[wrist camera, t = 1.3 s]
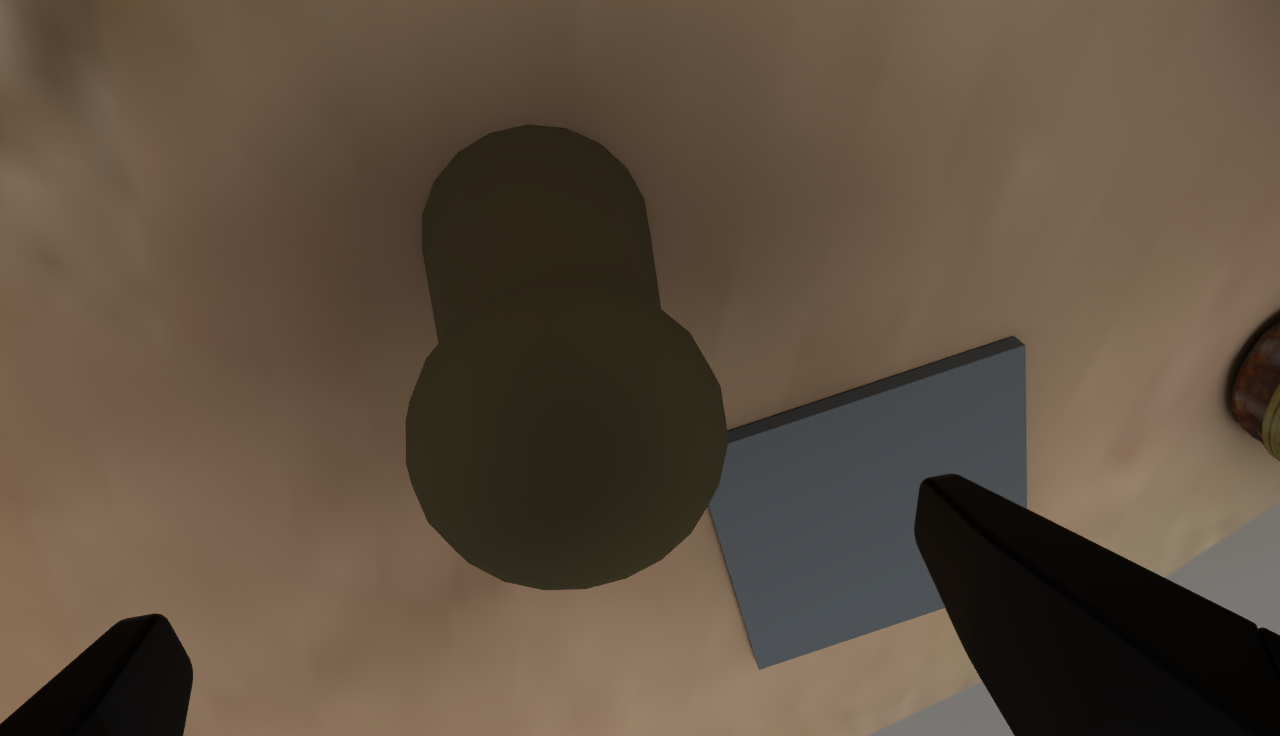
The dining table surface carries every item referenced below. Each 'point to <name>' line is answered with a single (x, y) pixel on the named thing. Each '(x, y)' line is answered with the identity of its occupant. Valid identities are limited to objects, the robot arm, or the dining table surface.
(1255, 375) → the sauce bottle
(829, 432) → the slate coaster
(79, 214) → the dining table surface
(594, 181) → the dark olive bulbous piece
